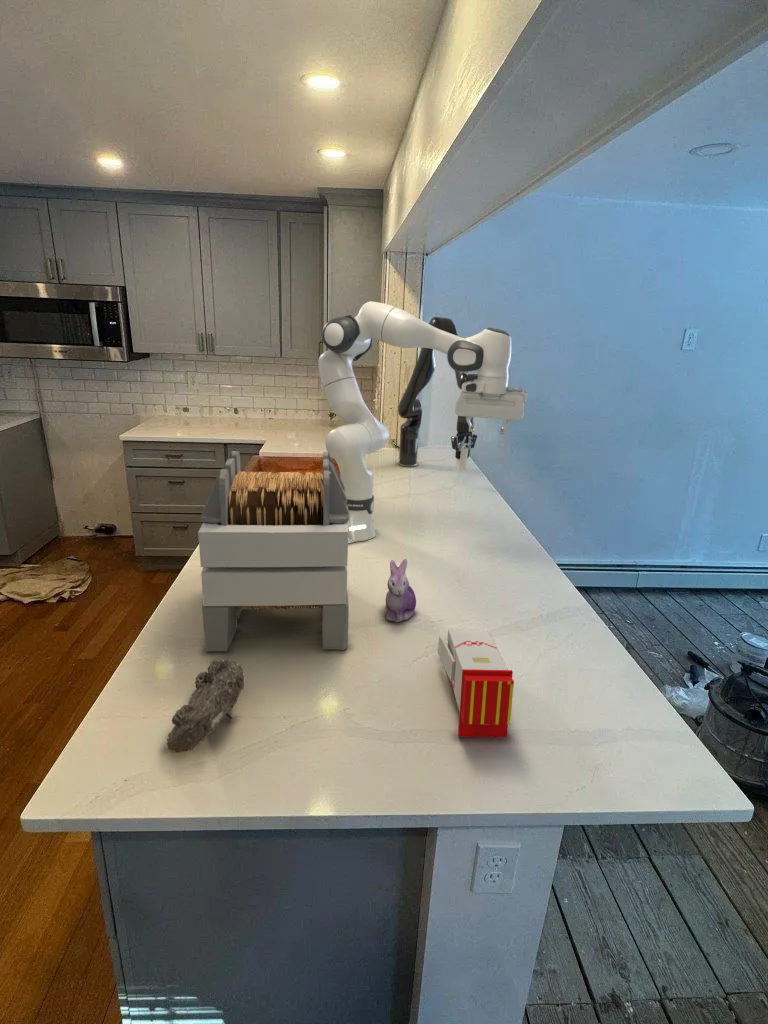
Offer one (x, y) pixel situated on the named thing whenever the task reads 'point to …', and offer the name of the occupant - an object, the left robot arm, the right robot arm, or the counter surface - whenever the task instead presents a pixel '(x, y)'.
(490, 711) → the toy
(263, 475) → the grey record crate
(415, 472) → the counter surface
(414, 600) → the figurine
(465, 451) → the canister
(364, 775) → the counter surface
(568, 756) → the counter surface
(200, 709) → the fossil
